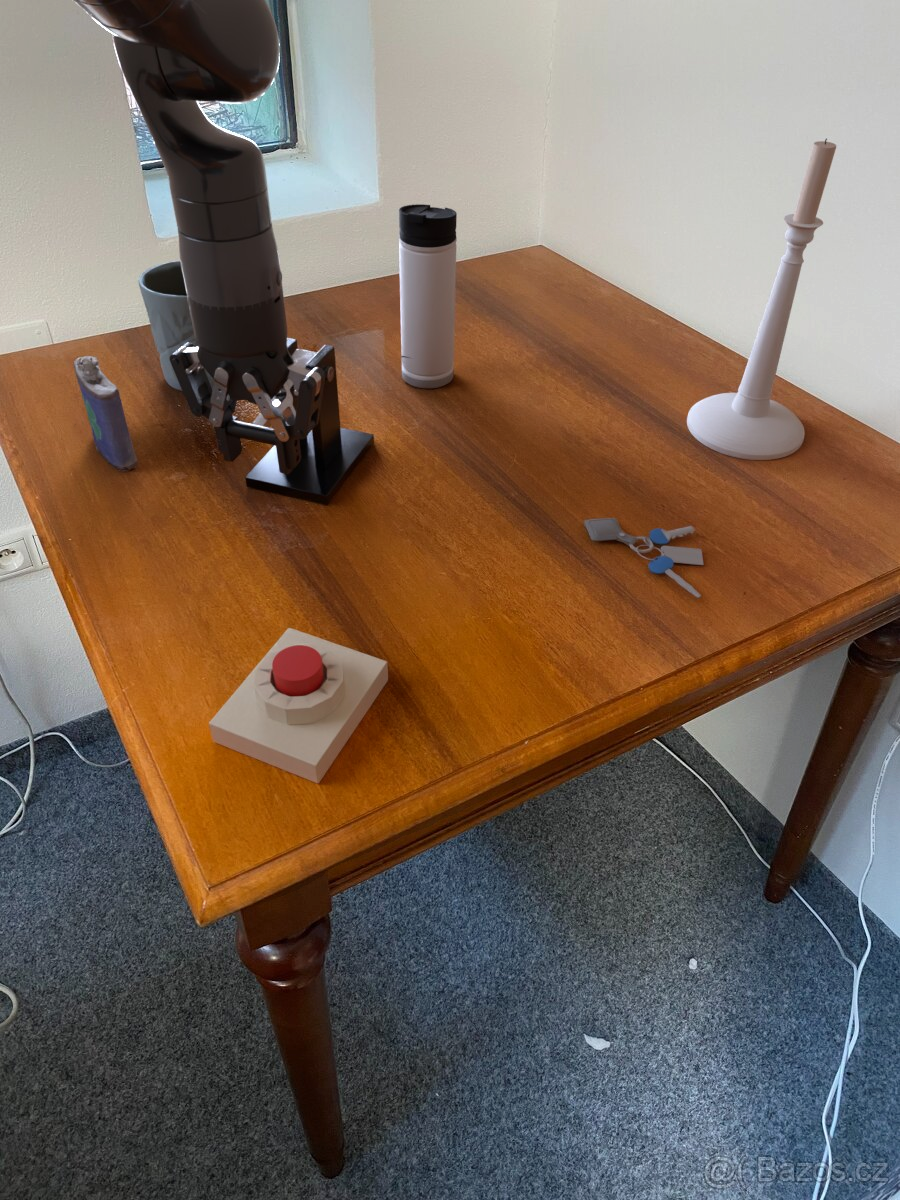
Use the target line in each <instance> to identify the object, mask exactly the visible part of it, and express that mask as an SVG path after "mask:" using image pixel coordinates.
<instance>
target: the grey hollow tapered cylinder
mask: <svg viewBox="0 0 900 1200" xmlns="http://www.w3.org/2000/svg"><path fill="white" fill-rule="evenodd" d="M137 282H138V287H139V290H140V293H141V296H142V297H141V298H142V300H143V304H144V307H145V309H146V313H147V317H148V321H149V325H150V331H151V335H152V338H153V339H154V341H153V342H154V345H155V349H156V351H157V353H158V354H159V363H160V367H161V370H162V373H163V377H164V380H165V381H166V384H167V385H168V386H170V387H171V388H172V389H175V390H178V391H181V392H183V391H182V389H181V387H180V384H179V382H178V379H177V377H176V375H175V372H174V370H173V367H172V365H171V362H170V359H169V358H170V356H171V355H172V354H173V353H174V352H176V351H177V350H178V349H179V348H181V347H182V346H183V345H184V344H186V343H188V342H189V343H192V344H193V345H194V346H195V347H199V345H198V343H197V342H196V339H195V335H194V330H193V325H192V320H191V315H190V309H189V304H188V299H187V294H186V288H185V283H184V278H183V273H182V267H181V262H180V260H174V261H168V262H164V263H159V264H157V265H153V266H152V267H149V268H148V269H146V270H144V271H143V272H142V273H141V274H140V275H139V277H138V280H137ZM204 370H205V372H206V375H207V377H208V380H209V382H210V385H211V387H212V390H213V386H214V380H213V378H212V377H211V376H210V374H209V373H208V372H207V371H206V369H205V368H204ZM197 391H198V390H197Z"/></svg>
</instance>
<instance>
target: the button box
mask: <svg viewBox="0 0 900 1200" xmlns="http://www.w3.org/2000/svg"><path fill="white" fill-rule="evenodd" d="M295 645H304V646H309V647H311V648H313V649H315V650H316V651H317V652H318V653H319V654H320V655H321V658H322V665H323V673H324V679H323V682H322V684H321V686H320V687H319V688H318V689H317V690H316V691H314V692H313V693H311V694H309V695H306V696H295V697H293V696H288V695H286V694H283V693H282V692H281V691H279V690H278V688H277V687H276V685H275V680H274V674H273V668H272V663H273V660H274V658H275V656H276V655H277V654H278V653H279V652H280V651H282V650H283V649H285V648H287V647H290V646H295ZM388 665H389V664H388V661H387V660H384V659H381V658H378V657H375V656H373V655H370V654H367V653H364V652H361V651H358V650H356V649H352V648H349V647H347V646H344V645H342V644H338V643H336V642H332V641H329V640H326V639H323V638H320V637H318V636H315V635H311V634H309V633H307V632H303V631H300V630H297V629H295V628H291V627H288V628H287V629H286V630H285V631H284V633H283V634H281V636H280V637H279V639H277V641H276V642H275V643H274V644H273V645H272V647H271V648H270V649H269V650H268V652H267V653H266V654H265V655H264V657H262V659H261V660H260V661H259V662H258V663H257V665H256V666H255V667H254V668H253V669H252V671H251V672H250V673H249V674H248V675H247V676H246V678H245V679H244V680H243V682H241V683H240V685H239V686H238V687H237V688H236V690H235V691H234V692H233V693H232V695H231V696H230V697H229V698H228V699H227V700H226V701H225V703H224V704H223V705H222V706H221V708H220V709H218V711H217V712H216V714H215V715H213V717H212V719H211V720H210V721H209V722H208V726H209V730H210V734H211V737H212V741H213V743H215V744H218V745H221V746H222V747H226V748H228V749H230V750H233V751H236V752H238V753H240V754H242V755H246V756H248V757H250V758H253V759H255V760H258V761H260V762H263V763H265V764H268V765H270V766H273V767H275V768H278V769H280V770H282V771H285V772H288V773H290V774H292V775H295V776H298V777H301V778H303V779H305V780H308V781H310V782H313V783H315V784H320V782H321V781H322V779H323V778H324V776H325V775H326V773H327V772H328V770H329V769H330V768H331V766H332V765H333V763H334V761H335V760H336V758H337V757H338V756H339V754H340V753H341V751H342V749H343V748H344V746H345V745H346V744H347V742H348V741H349V740H350V738H351V736H352V735H353V733H354V732H355V730H356V729H357V728H358V726H359V724H360V723H361V722H362V720H363V718H364V717H365V716H366V714H367V713H368V712H369V710H370V708H371V706H373V704H374V702H375V700H376V699H377V697H379V695H380V693H381V691H382V690H383V689H384V687H385V685H386V684H387V683H388V681H389V667H388Z"/></svg>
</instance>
